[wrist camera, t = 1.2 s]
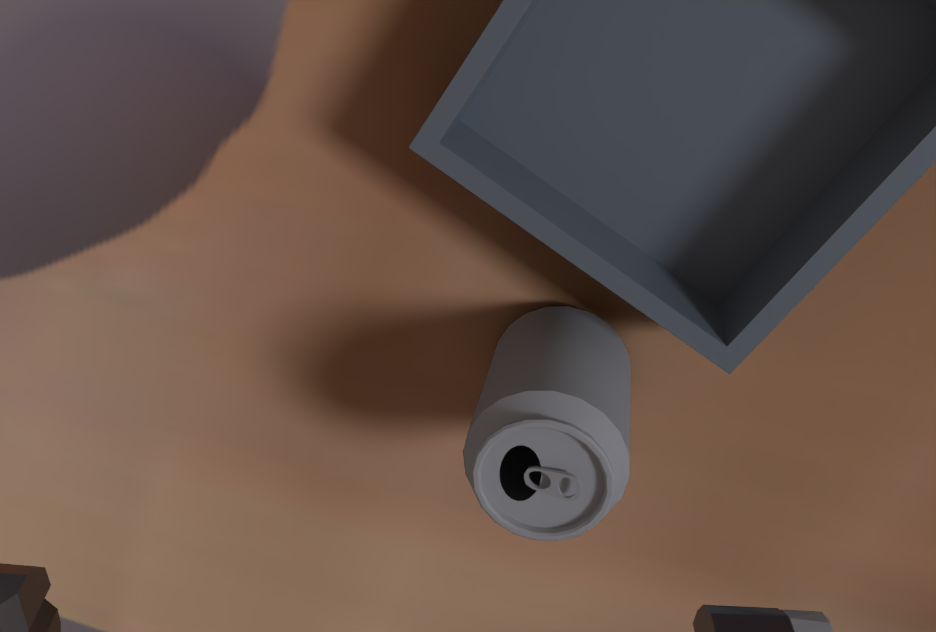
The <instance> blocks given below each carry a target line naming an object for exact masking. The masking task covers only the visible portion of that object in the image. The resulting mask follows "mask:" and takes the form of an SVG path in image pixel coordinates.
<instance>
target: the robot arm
mask: <svg viewBox="0 0 936 632" xmlns="http://www.w3.org/2000/svg"><path fill="white" fill-rule="evenodd" d="M50 586H51V584H50V581H49V578H48V575H47V572H46V569H45V567H36V566H24V565H13V564H1V563H0V632H61V621H60V617H59V613H58V609H57V608H56V607H54V606H53V605H52V604H51V603H49V602H48V601H47V600H46V599H44V598H45V596H46V594H47V592H48V590H49V588H50ZM693 627H694V631H695V632H834V631H833V629H832V626H831V624H830V621H829V619H828V618H827V617H826V616H825V615H824V614H823V613H822V612H816V611H799V610H779V609H778V608H759V607H737V606H715V605H703V606H701V607H700V608H699V609H698V610H697V613H696V616H695V618H694V621H693Z"/></svg>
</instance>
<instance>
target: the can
mask: <svg viewBox="0 0 936 632" xmlns="http://www.w3.org/2000/svg"><path fill="white" fill-rule="evenodd" d="M630 380H631V378H630V358H629V355H628V352H627V350H626V347H625V345H624V342H623V340H622V339H621V338H620V336H619V335H618V334H617V333H616V332H615V330H614V329H613V328H612V327H611V326H610V325H609V324H608V323H607V322H605V321H603V320H602V319H600V318H599V317H597V316H596V315H594V314H592V313H591V312H588V311H584V310H580V309H577V308H573V307H570V306H557V307H544V308H541V309H538V310H535V311H532V312H529V313H526V314H524V315H523V316H522V317H520V318H519V319H517V320H516V321H515V322H513V323H512V324H511V325H509V327H508V328H507V329H506V331H505V332H504V334H503V335H502V337H501V338H500V339H499V341H498V343H497V346H496V349H495V352H494V355H493V358H492V361H491V364H490V367H489V370H488V373H487V376H486V379H485V382H484V385H483V388H482V391H481V394H480V397H479V400H478V403H477V406H476V409H475V412H474V416H473V419H472V422H471V425H470V428H469V431H468V434H467V438H466V442H465V446H464V450H463V456H464V466H465V474H466V476H467V478H468V480H469V482H470V484H471V486H472V488H473V491H474V493H475V495H476V497H477V499H478V501H479V503H480V505H481V507H482V509H483V510H484V511H485V512H486V513H487V514H488V515H489V516H490V517H491V518H492V519H493V520H494V521H495V522H496V523H497V524H499V525H500V526H502V527H504V528H505V529H507V530H509V531H510V532H512V533H514V534H516V535H520V536H523V537H527V538H530V539H533V540H548V541H558V540H563V539H567V538H571V537H575V536H578V535H580V534H582V533H584V532H585V531H587V530H589V529H591V528H592V527H594V526H596V524H597V523H598V522H599V521H600V520H601V519H602V518H603V517H604V516H606V515H607V514H608V513H609V512H610V511H611V509H612V508H613V507H614V506H615V505H616V504H617V502H618V501H619V500H620V499H621V498H622V496H623V493H624V490H625V487H626V485H627V482H628V479H629V473H630Z"/></svg>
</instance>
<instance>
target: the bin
mask: <svg viewBox="0 0 936 632" xmlns="http://www.w3.org/2000/svg"><path fill="white" fill-rule="evenodd" d="M409 148H410V149H411V150H412V151H414V152H415V153H417V154H418V155H420V156H421V157H422V158H424V159H425V160H427V161H428V162H429V163H431V164H432V165H434V166H435V167H437V168H438V169H439V170H441V171H442V172H444V173H445V174H446V175H448V176H449V177H451V178H452V179H454V180H455V181H456V182H458V183H459V184H461V185H462V186H463V187H465V188H466V189H468V190H469V191H471V192H472V193H473V194H475V195H476V196H478V197H479V198H480V199H482V200H483V201H485V202H486V203H488V204H489V205H490V206H492V207H493V208H495V209H496V210H497V211H499V212H500V213H502V214H503V215H505V216H506V217H507V218H509V219H510V220H512V221H513V222H514V223H516V224H517V225H519V226H520V227H522V228H523V229H524V230H526V231H527V232H529V233H530V234H532V235H533V236H534V237H536V238H537V239H539V240H540V241H541V242H543V243H544V244H546V245H547V246H549V247H550V248H551V249H553V250H554V251H556V252H557V253H558V254H560V255H561V256H563V257H564V258H566V259H567V260H568V261H570V262H571V263H573V264H574V265H575V266H577V267H578V268H580V269H581V270H583V271H584V272H585V273H587V274H588V275H590V276H591V277H592V278H594V279H595V280H597V281H598V282H600V283H601V284H602V285H604V286H605V287H607V288H608V289H609V290H611V291H612V292H614V293H615V294H617V295H618V296H619V297H621V298H622V299H624V300H625V301H626V302H628V303H629V304H631V305H632V306H634V307H635V308H636V309H638V310H639V311H641V312H642V313H643V314H645V315H646V316H648V317H649V318H651V319H652V320H653V321H655V322H656V323H658V324H659V325H660V326H662V327H663V328H665V329H666V330H668V331H669V332H670V333H672V334H673V335H675V336H676V337H677V338H679V339H680V340H682V341H683V342H685V343H686V344H687V345H689V346H690V347H692V348H693V349H694V350H696V351H697V352H699V353H700V354H702V355H703V356H704V357H706V358H707V359H709V360H710V361H711V362H713V363H714V364H716V365H717V366H719V367H720V368H721V369H723V370H724V371H726V372H727V373H728V374H730V373H731V372H732V371H733V370H734V369H735V368H736V367H737V366H738V365H739V364H740V363H741V362H742V361H743V360H744V359H745V358H746V357H747V356H748V355H749V354H750V353H751V352H752V351H753V349H754V348H755V347H756V346H757V345H758V344H759V343H760V342H761V341H762V340H763V339H764V338H765V337H766V336H767V335H768V334H769V333H770V332H771V331H772V330H773V329H774V328H775V327H776V326H777V325H778V324H779V323H780V322H781V321H782V319H783V318H784V317H785V316H786V315H787V314H788V313H789V312H790V311H791V310H792V309H793V308H794V307H795V306H796V305H797V304H798V303H799V302H800V301H801V300H802V299H803V298H804V297H805V296H806V295H807V294H808V293H809V292H810V290H811V289H812V288H813V287H814V286H815V285H816V284H817V283H818V282H819V281H820V280H821V279H822V278H823V277H824V276H825V275H826V274H827V273H828V272H829V271H830V270H831V269H832V268H833V267H834V266H835V265H836V264H837V263H838V261H839V260H840V259H841V258H842V257H843V256H844V255H845V254H846V253H847V252H848V251H849V250H850V249H851V248H852V247H853V246H854V245H855V244H856V243H857V242H858V241H859V240H860V239H861V238H862V237H863V236H864V235H865V234H866V233H867V231H868V230H869V229H870V228H871V227H872V226H873V225H874V224H875V223H876V222H877V221H878V220H879V219H880V218H881V217H882V216H883V215H884V214H885V213H886V212H887V211H888V210H889V209H890V208H891V207H892V206H893V205H894V204H895V202H896V201H897V200H898V199H899V198H900V197H901V196H902V195H903V194H904V193H905V192H906V191H907V190H908V189H909V188H910V187H911V186H912V185H913V184H914V183H915V182H916V181H917V180H918V179H919V178H920V177H921V176H922V175H923V174H924V172H925V171H926V170H927V169H928V168H929V167H930V166H931V165H932V164H933V163H934V162H935V161H936V0H503V2H502V3H501V5H500V7H499V8H498V10H497V11H496V13H495V14H494V16H493V17H492V19H491V20H490V22H489V24H488V25H487V27H486V28H485V30H484V31H483V33H482V34H481V36H480V38H479V39H478V41H477V42H476V44H475V45H474V47H473V48H472V50H471V51H470V53H469V55H468V56H467V58H466V59H465V61H464V62H463V64H462V65H461V67H460V69H459V70H458V72H457V73H456V75H455V76H454V78H453V79H452V81H451V82H450V84H449V86H448V87H447V89H446V90H445V92H444V93H443V95H442V96H441V98H440V100H439V101H438V103H437V104H436V106H435V107H434V109H433V110H432V112H431V114H430V115H429V117H428V118H427V120H426V121H425V123H424V124H423V126H422V127H421V129H420V131H419V132H418V134H417V135H416V137H415V138H414V140H413V141H412V143H411V145H410V146H409Z"/></svg>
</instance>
